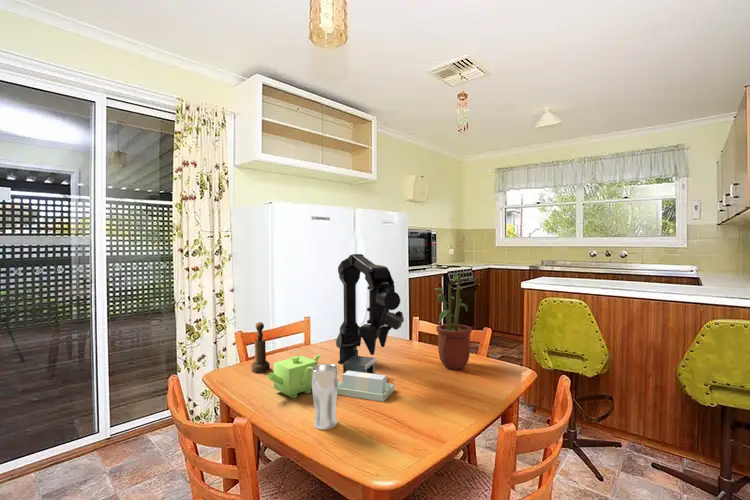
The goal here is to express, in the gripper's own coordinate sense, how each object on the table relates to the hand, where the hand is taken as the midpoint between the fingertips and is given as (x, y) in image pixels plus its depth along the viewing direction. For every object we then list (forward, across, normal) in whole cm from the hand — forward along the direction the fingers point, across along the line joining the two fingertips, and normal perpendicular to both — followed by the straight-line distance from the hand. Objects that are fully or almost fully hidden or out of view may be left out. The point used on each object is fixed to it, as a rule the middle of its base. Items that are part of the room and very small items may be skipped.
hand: (377, 350), depth 127 cm
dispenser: (+12, +2, +8) cm, 14 cm away
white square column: (+11, -8, +1) cm, 13 cm away
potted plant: (+12, +26, -18) cm, 34 cm away
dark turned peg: (+12, -3, +46) cm, 48 cm away
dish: (+11, -8, +1) cm, 14 cm away
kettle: (+12, -15, +21) cm, 29 cm away
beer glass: (+11, -31, +2) cm, 33 cm away
